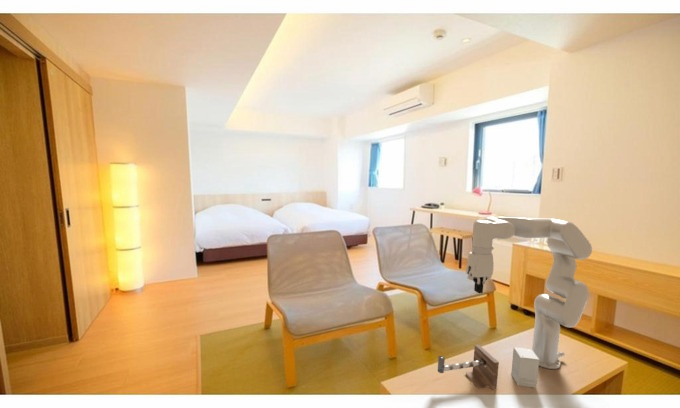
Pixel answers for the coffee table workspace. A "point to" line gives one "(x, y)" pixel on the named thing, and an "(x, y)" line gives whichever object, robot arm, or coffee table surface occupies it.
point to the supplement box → (525, 367)
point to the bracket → (484, 369)
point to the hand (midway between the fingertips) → (478, 291)
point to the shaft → (456, 365)
